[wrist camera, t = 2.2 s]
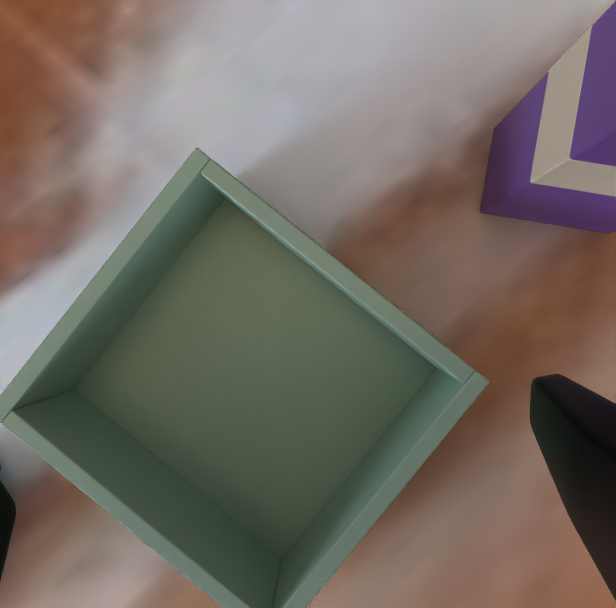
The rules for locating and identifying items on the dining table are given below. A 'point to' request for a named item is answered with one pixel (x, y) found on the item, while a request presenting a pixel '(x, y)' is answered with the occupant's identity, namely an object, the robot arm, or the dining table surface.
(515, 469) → the dining table surface
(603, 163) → the purple tall block
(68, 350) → the bin
